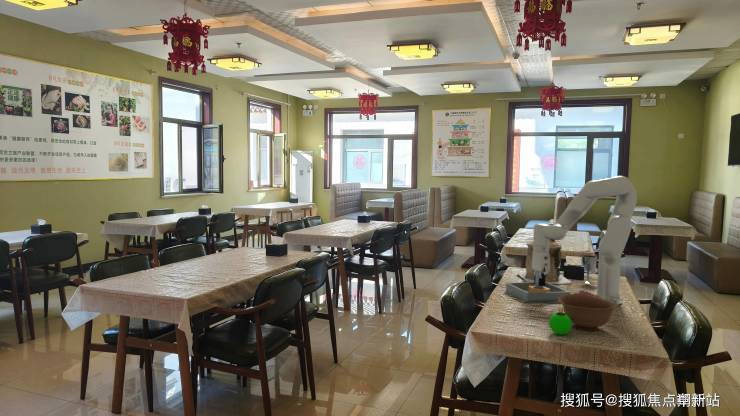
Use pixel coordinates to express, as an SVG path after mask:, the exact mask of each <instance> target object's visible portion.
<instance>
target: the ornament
mask: <svg viewBox="0 0 740 416" xmlns="http://www.w3.org/2000/svg"><path fill="white" fill-rule="evenodd" d="M548 325H549V328H550V330H551V331H552V332H553V334H557V335H559V336H563V335H567V334H568V333H569V332H570V331H571V330H572V325H573V323H572V322H571V319H570V318H569V317H568V316H567V315H566V314H565V312H564V307H563V308H562V307H559V309H558V311H557V312H556V313H553V314H552V315H551V316H550V317H549V320H548Z"/></svg>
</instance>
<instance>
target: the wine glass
mask: <svg viewBox="0 0 740 416" xmlns="http://www.w3.org/2000/svg"><path fill="white" fill-rule="evenodd" d="M597 259H598V257H597V255H594V254H581V257H580V261H581V262H580V263H581V265H582V268H583V269H584V270H585V271H586V276H587V277H586V280H581V281H580V283H581V284H587V285H593V284H592V283H594V284H595V282H594V281H591V280H589V279H590V273H591V271H592V270H593V269H594V268H595V267H596V264H597V262H598V261H597Z"/></svg>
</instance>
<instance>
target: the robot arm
mask: <svg viewBox="0 0 740 416" xmlns="http://www.w3.org/2000/svg"><path fill="white" fill-rule="evenodd" d="M637 196H638V195H637V192H636V188H635V187H634V185H633V184H632V183H631V180H630V179H629V178H628V177H626V176H623V175H617V176H613V177H610V178H603V179H598V180H589V181H587V182H586V183H585V184H584V185H583V187H582V188H581V189H580V190H579V192H578V193H577V194H576V195H575V196H574V198H573V199H572V200H571V201H570V202H569V204H568V205H567V206H566V208H565V210H564V211H563V212H562V214H561V215H560V216H559V217H558V219H556V220H555V222H554V223H553V224H552V225H551V224H550V225H549V224H546V223H535V224H534V225H533V241H532V242H533V257H532V269H533V272H534V284H535V278H536V271H539V272H540V278H539V286H545V278H546V276H547V275H548V272H550V255H549V239H553V240H555V241H561V240H564V238H565V237H566V236H567V233H568V232H569V230H570V229H571V228H572V227H573V226H574V225H575V223H576V222H577V221H578V220H580V219H581V218H582V217H584V215H585V214H587V212H588V211H589V210H590V209H591V207H592V206H593V205H594V204H595V202H596V201H597V200H598V199H604V198H610V197H616V198H615V199H616V200H615V202H614V203H615V204H614V206H613V210H612V212H611V213H610V217H609V218H608V221H607V227H606V230H605V233H604V235H603V237H602V238H601V239H600V241H599V244H598V264H597V265H598V268H597V281H596V282H597V283H596V284H597V285H596V286H597V287H596V295H597V296H599V297H601V298H602V299H605V300H608V301H611V302H614V303H616V304H618V305H621V304H623V301H624V300H623V298H622V297H621V294H620V286H621V285H620V284H621V283H620V282H621V265H622V262H621V261H622V254H623V252H624V250H625V247H626V244H627V243H628V239H629V237H630V234H631V231H632V223H631V220H632V218H633V215H634V212H635V208H636V206H637V201H638V200H637V199H638V197H637ZM543 271H544V272H543ZM542 273H543V274H542Z"/></svg>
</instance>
